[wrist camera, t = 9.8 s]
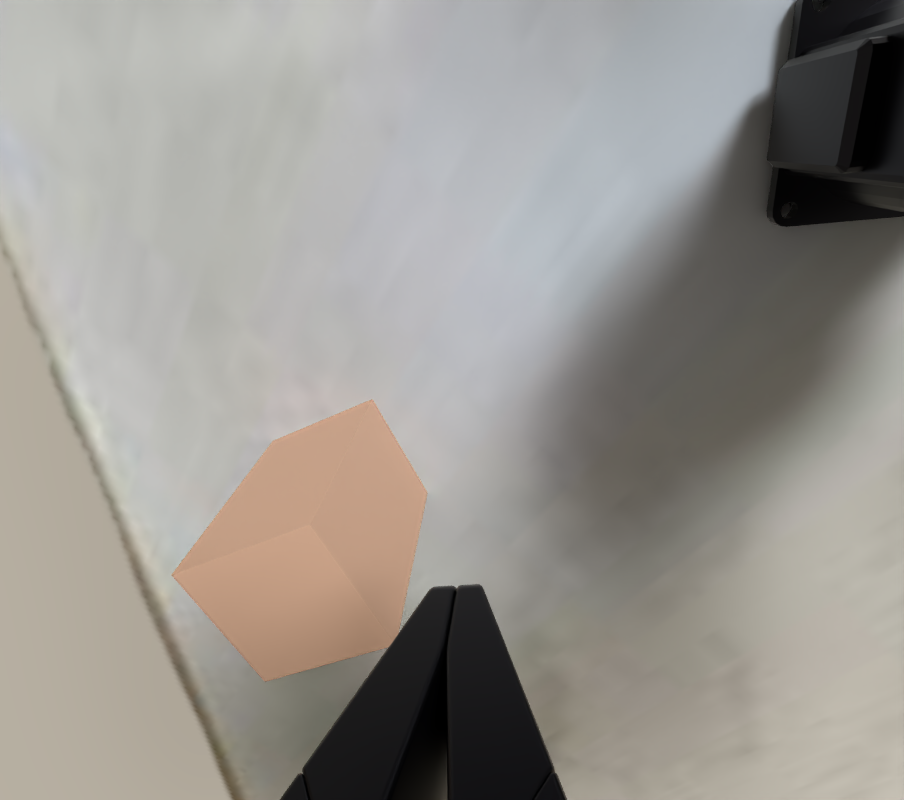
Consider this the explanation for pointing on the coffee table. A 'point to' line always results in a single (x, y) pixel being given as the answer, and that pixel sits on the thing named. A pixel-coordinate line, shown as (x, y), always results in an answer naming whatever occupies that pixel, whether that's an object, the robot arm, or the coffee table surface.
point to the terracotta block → (312, 547)
